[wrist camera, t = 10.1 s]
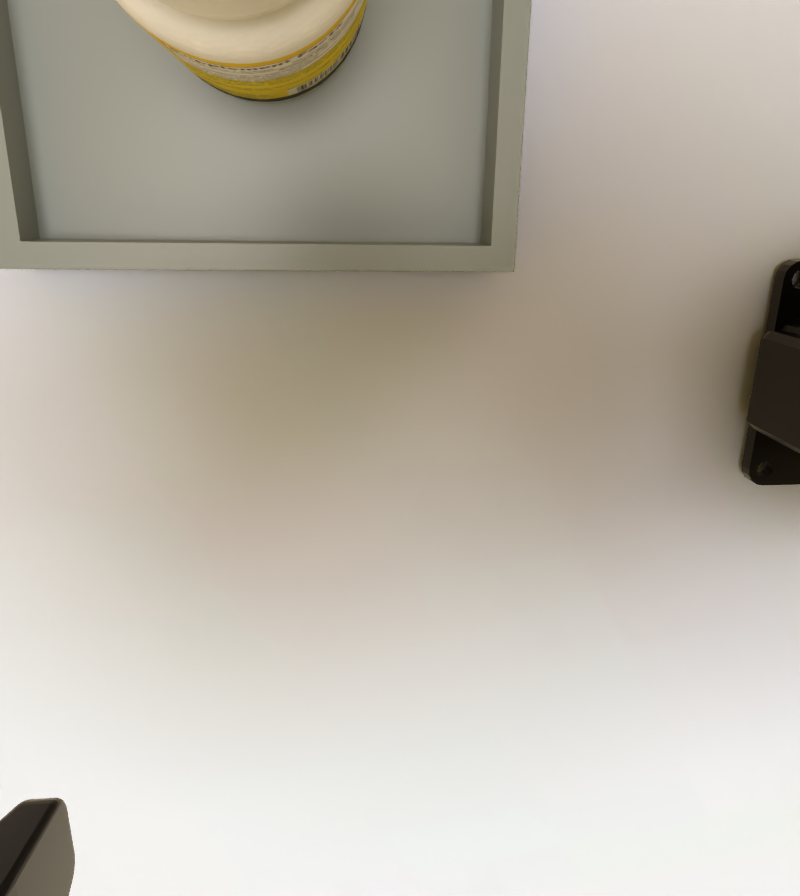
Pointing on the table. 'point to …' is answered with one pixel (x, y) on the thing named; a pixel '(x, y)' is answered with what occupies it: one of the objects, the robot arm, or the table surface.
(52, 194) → the tray
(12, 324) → the table surface
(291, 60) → the supplement bottle
